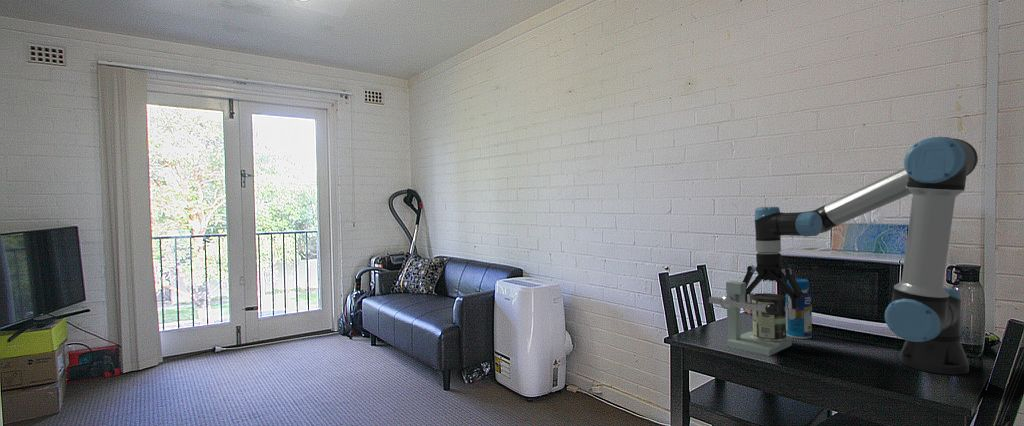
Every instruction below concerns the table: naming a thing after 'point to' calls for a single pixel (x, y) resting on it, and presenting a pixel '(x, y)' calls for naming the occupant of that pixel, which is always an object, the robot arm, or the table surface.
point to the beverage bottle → (800, 314)
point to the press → (747, 339)
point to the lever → (743, 305)
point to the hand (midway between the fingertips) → (770, 315)
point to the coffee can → (769, 318)
